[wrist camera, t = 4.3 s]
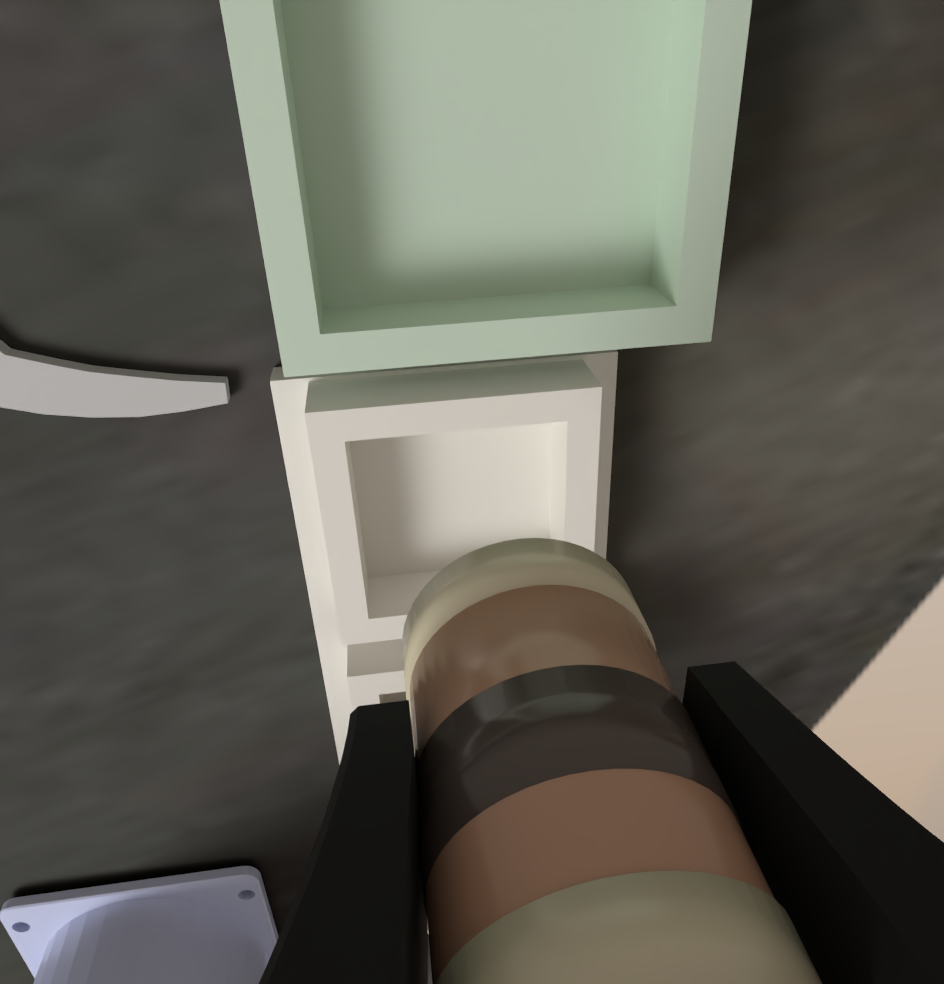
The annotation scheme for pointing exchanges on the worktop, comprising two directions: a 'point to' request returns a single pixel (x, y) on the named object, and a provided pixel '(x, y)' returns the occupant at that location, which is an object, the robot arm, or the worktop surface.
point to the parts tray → (487, 173)
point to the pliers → (100, 388)
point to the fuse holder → (432, 489)
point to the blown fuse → (572, 790)
